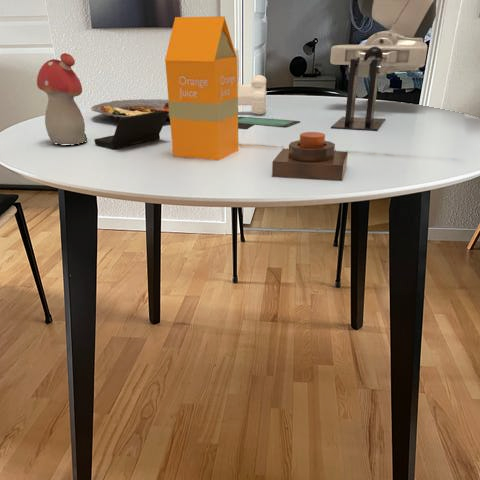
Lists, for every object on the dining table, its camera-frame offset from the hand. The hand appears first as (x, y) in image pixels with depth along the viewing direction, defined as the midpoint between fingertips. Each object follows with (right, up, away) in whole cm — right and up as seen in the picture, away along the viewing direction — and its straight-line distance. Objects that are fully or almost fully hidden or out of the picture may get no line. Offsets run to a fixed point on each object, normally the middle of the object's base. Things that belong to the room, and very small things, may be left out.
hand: (373, 57), depth 103 cm
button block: (-17, -32, -28) cm, 46 cm away
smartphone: (-23, -14, +2) cm, 27 cm away
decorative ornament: (-60, -21, -9) cm, 64 cm away
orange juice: (-33, -26, -17) cm, 46 cm away
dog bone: (-29, -5, +17) cm, 34 cm away
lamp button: (-17, -29, -30) cm, 45 cm away
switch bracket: (-3, -15, -1) cm, 16 cm away
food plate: (-49, -6, +15) cm, 52 cm away
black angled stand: (-47, -21, -10) cm, 53 cm away
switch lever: (-2, -4, -2) cm, 5 cm away
